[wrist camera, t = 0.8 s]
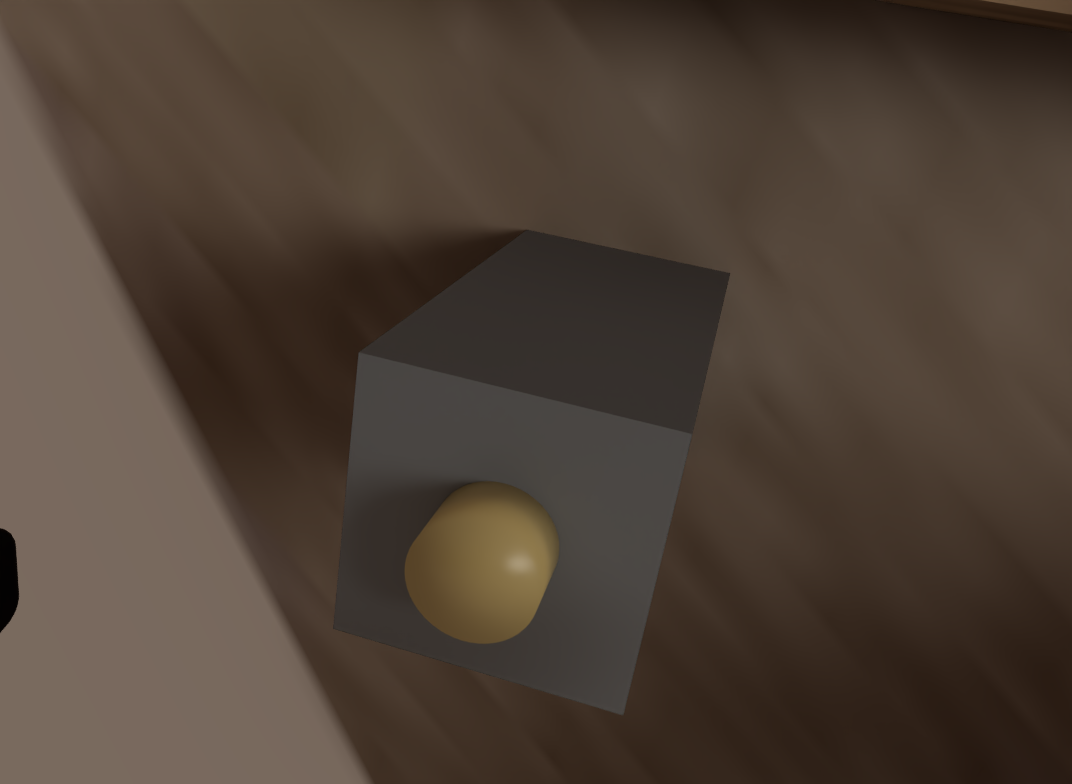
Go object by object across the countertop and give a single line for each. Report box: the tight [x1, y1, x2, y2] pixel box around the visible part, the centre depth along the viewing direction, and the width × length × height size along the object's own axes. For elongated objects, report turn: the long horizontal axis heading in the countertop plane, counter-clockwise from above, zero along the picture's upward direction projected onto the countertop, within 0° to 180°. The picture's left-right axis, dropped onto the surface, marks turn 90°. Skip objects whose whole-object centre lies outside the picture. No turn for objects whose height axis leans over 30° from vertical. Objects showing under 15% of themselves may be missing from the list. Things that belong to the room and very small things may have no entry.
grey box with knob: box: [333, 230, 730, 715], centre depth 15 cm, size 4×4×9 cm
